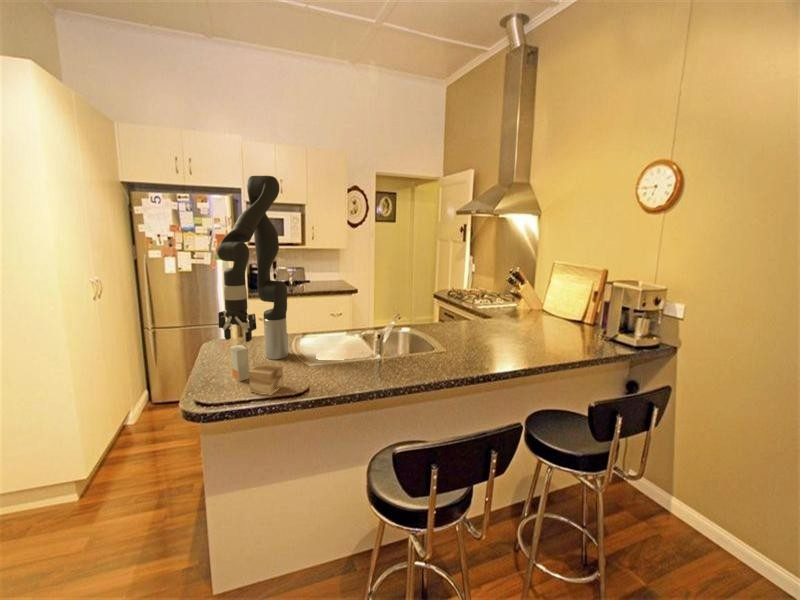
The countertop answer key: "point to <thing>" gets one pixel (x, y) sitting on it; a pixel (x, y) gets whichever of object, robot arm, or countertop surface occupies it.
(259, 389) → the block lower
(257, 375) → the tan square block
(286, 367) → the countertop surface
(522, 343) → the countertop surface
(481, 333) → the countertop surface
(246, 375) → the skincare box
